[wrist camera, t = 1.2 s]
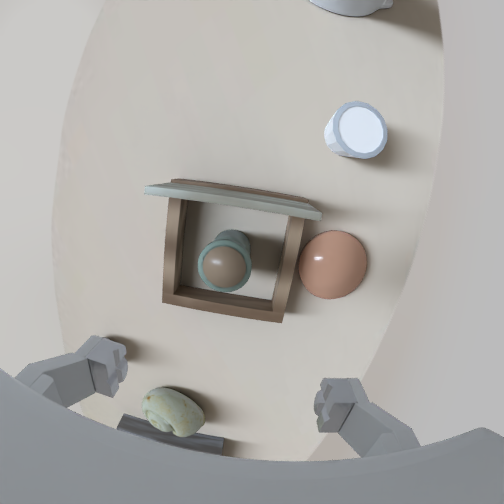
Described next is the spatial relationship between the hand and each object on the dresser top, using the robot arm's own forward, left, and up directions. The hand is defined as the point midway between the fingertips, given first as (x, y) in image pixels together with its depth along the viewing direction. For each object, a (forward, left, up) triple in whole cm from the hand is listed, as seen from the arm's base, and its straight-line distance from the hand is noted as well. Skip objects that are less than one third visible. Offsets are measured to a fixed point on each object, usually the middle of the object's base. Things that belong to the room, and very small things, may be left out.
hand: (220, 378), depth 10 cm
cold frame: (+3, -2, -28) cm, 28 cm away
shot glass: (-15, +10, -29) cm, 34 cm away
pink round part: (+3, +12, -28) cm, 31 cm away
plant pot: (+3, -2, -28) cm, 29 cm away
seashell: (+36, -9, -29) cm, 47 cm away
